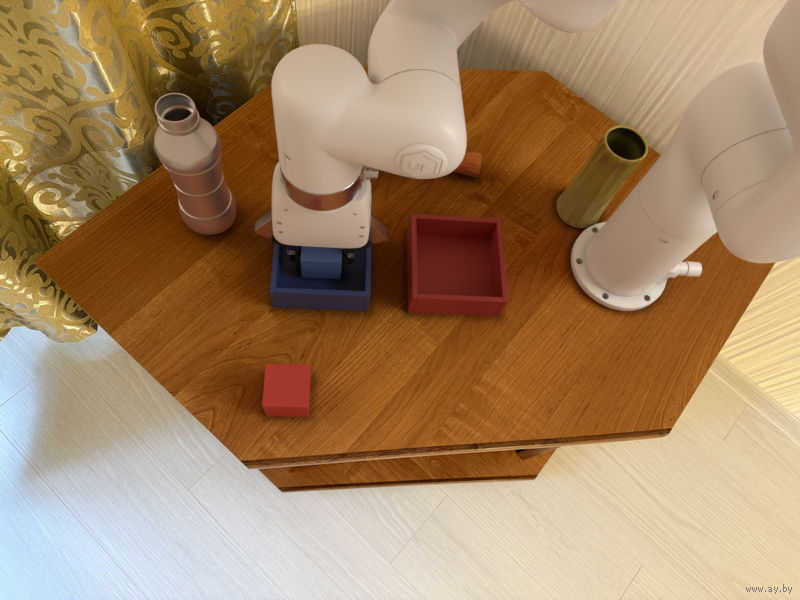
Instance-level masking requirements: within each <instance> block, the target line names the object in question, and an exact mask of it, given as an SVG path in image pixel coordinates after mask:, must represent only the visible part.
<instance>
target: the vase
mask: <svg viewBox="0 0 800 600" xmlns="http://www.w3.org/2000/svg"><path fill="white" fill-rule="evenodd" d="M648 152H649V145H648V142H647V139H646V138H645V136H644V135H643V134H642V133H641V132H640V131H639V130H637V129H636V128H635V127H633V126H629V125H625V124H618V125H614V126H611V127H610V128H609V129H608V130H607V131H606V132H605V133H604V134H603V136H602V137H601V139H600V140H599V142H598V143H597V145H596V146H595V148H594V149H593V150H592V152H591V153H590V154H589V156H587V157H588V158H587V159H586V160H585V161H584V162H583V164H582V166H581V167H580V168H579V170H578V171H577V173H576V174H575V175H574V177H573V178H572V179H571V181H570V182H569V183H568V185H567V186H566V188H565V189H564V191H563V192H562V193H560V195H559V196H558V197H557V199H556V204H555V205H556V211H557V215H558V216H559V218H560V219H561V220H562V221H563V222H564V223H565V224H566V225H568V226H570V227H571V228H572V227H573V228H575V229H579V230H580V229H582V230H586V229H587V228H588V227H590V226H592V225H594V224H597V223H598V221H599V220H600V218H601V216H602V214H603V213H604V212H605V210H606V209H607V207H608V206H609V204H610V203H611V201H612V200H613V199H614V197H615V196H616V195H617V194H618V192H620V190H621V189H622V187H623V185H624V184H625V182H626V181H627V180H628V179H629V177H631V175H632V174H633V173H634V171H635V170H636V169H637V168H638V167H639V166H640V164H641V163H642V162H643V160H644V159H645V158H646V157H647V155H648Z"/></svg>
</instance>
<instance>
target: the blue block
mask: <svg viewBox="0 0 800 600" xmlns="http://www.w3.org/2000/svg"><path fill="white" fill-rule="evenodd" d="M300 261H301V274H302V278H319V279H341V265H342V248H329V247H311V246H301V259H300Z"/></svg>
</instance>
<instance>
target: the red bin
mask: <svg viewBox="0 0 800 600" xmlns="http://www.w3.org/2000/svg"><path fill="white" fill-rule="evenodd" d="M409 218H410V219H409V223H408V226H407V229H406V278H407V279H406V280H407V281H406V282H407V284H406V286H407V288H406V289H407V291H406V293H407V296H406V297H407V313H408V314H428V315H429V314H430V315H451V316H452V315H456V316H479V317H480V316H481V317H482V316H483V317H499V316H500V314H501V313H502V312H503V310H504V309H505V307H506V305H507V304H508V303H509V294H508V284H507V283H508V282H507V271H506V259H505V249H504V235H503V223H502V218H492V217H477V216H476V217H473V216H472V217H471V216H455V215H441V214H440V215H439V214H422V213H421V214H420V213H411V214H410V217H409Z"/></svg>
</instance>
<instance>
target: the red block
mask: <svg viewBox="0 0 800 600" xmlns="http://www.w3.org/2000/svg"><path fill="white" fill-rule="evenodd" d="M311 380H312V374H311V365H310V364H300V363H299V364H298V363H297V364H296V363H267V362H266V363H265V369H264V381H263V391H262V401H261V402H262V403H261V407H262V410H263V412H264V415H265V416H266V417H280V418H281V417H285V418H286V417H287V418H309V417H310V401H311V385H312V384H311V383H312V381H311Z"/></svg>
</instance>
